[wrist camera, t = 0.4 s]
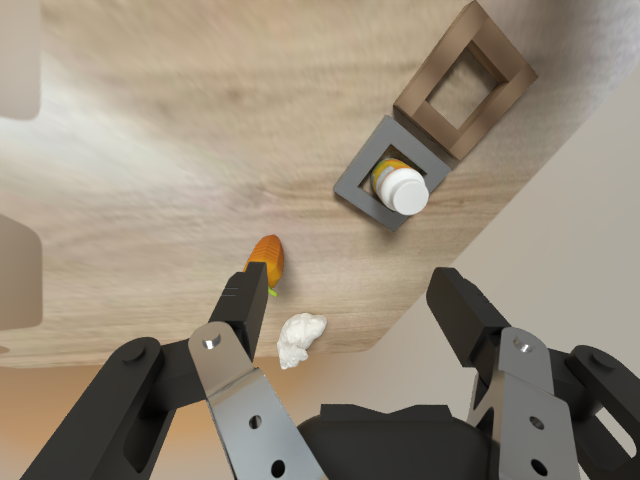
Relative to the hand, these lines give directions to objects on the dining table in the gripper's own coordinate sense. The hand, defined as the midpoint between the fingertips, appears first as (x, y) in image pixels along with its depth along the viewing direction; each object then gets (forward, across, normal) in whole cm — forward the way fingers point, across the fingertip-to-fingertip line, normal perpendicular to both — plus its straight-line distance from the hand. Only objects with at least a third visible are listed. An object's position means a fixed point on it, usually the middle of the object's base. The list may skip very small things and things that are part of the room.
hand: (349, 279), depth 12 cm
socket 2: (+26, -16, -9) cm, 32 cm away
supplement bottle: (+27, -9, +2) cm, 28 cm away
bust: (+26, +4, +32) cm, 41 cm away
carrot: (+26, +8, +12) cm, 30 cm away
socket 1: (+26, -9, +2) cm, 28 cm away
